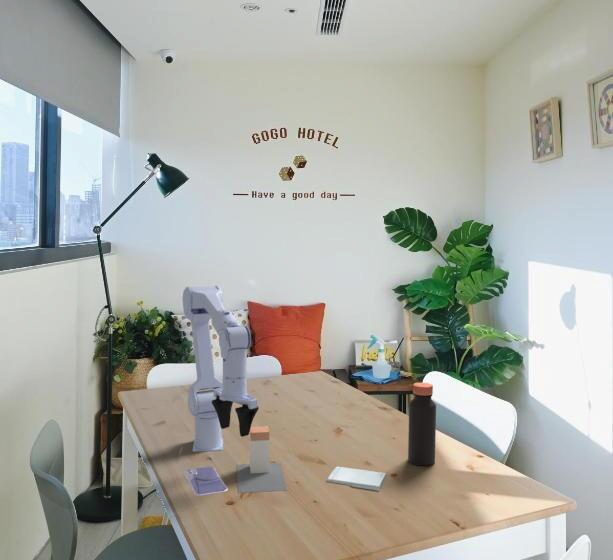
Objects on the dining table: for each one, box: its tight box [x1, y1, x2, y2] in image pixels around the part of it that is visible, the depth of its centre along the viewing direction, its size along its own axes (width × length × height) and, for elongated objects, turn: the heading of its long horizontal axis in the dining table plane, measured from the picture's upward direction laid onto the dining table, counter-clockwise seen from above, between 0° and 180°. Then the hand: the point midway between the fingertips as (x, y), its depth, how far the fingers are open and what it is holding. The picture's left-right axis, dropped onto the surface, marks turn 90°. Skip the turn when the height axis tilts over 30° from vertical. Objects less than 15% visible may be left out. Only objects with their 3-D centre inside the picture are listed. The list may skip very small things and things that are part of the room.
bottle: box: [407, 382, 437, 467], centre depth 143 cm, size 7×7×20 cm
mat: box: [236, 462, 288, 494], centre depth 133 cm, size 16×11×1 cm
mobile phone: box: [183, 466, 228, 496], centre depth 131 cm, size 8×1×15 cm
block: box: [249, 425, 270, 473], centre depth 137 cm, size 4×4×10 cm
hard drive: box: [326, 466, 387, 492], centre depth 132 cm, size 2×8×12 cm
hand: (234, 431), depth 135 cm, fingers open, 7 cm apart
